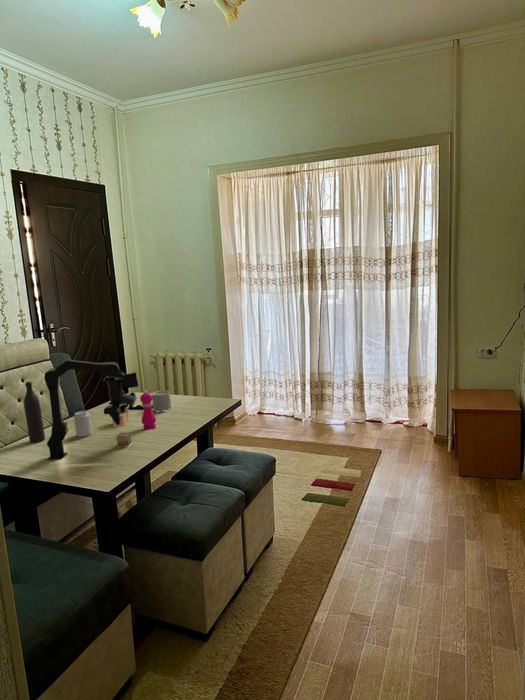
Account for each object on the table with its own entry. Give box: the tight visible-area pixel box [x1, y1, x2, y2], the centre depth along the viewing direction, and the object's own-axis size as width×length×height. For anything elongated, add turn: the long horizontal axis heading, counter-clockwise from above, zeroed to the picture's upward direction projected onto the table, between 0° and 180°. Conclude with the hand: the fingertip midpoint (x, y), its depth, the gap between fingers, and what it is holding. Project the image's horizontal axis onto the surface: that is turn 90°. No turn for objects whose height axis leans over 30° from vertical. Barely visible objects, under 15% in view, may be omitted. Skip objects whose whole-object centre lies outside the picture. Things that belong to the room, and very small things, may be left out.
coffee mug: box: [151, 390, 172, 411], centre depth 283 cm, size 13×10×10 cm
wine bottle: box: [23, 381, 46, 444], centre depth 243 cm, size 7×7×30 cm
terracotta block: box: [111, 413, 129, 428], centre depth 225 cm, size 5×5×5 cm
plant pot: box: [125, 405, 130, 422], centre depth 264 cm, size 9×9×9 cm
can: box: [73, 410, 93, 438], centre depth 247 cm, size 8×8×12 cm
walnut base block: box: [116, 431, 133, 448], centre depth 227 cm, size 5×5×5 cm
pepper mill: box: [139, 390, 157, 431], centre depth 250 cm, size 7×7×20 cm
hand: (120, 422), depth 226 cm, fingers closed on terracotta block, 5 cm apart
